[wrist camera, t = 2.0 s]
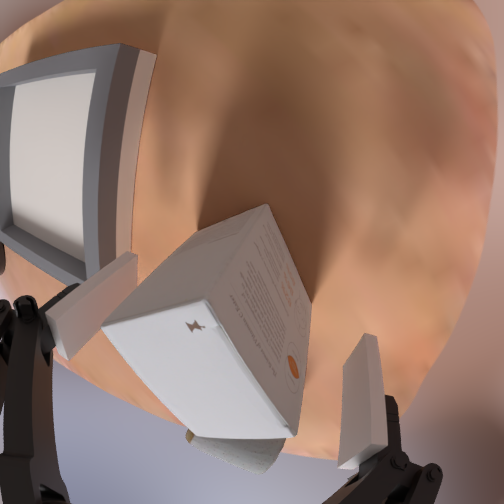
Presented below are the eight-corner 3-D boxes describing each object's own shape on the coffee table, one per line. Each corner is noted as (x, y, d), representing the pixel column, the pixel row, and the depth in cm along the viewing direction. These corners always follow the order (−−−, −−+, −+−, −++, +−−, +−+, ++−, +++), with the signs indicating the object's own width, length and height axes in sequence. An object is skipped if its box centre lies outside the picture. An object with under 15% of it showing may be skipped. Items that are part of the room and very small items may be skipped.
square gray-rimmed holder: (21, 226, 24) (-3, 239, 20) (26, 73, 16) (-3, 74, 12) (131, 280, 22) (103, 305, 19) (157, 54, 14) (120, 43, 10)
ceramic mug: (216, 365, 24) (184, 432, 17) (297, 395, 23) (283, 465, 17) (199, 411, 29) (175, 461, 22) (261, 434, 28) (246, 486, 22)
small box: (195, 230, 19) (93, 322, 9) (269, 200, 17) (201, 294, 7) (244, 322, 21) (194, 439, 12) (314, 306, 19) (297, 440, 10)
